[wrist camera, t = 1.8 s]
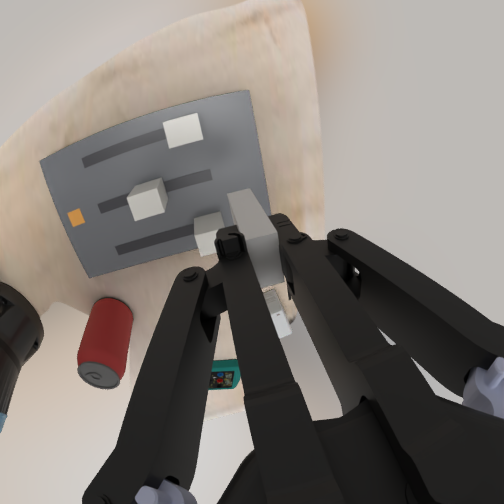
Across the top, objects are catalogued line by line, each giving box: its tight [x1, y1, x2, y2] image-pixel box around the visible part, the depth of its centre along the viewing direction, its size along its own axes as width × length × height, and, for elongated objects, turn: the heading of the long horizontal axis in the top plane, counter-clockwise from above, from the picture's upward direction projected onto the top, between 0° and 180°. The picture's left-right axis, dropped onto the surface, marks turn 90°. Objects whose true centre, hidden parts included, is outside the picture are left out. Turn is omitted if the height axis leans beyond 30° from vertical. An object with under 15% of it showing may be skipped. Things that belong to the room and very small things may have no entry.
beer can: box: [77, 298, 133, 389], centre depth 31 cm, size 7×7×12 cm
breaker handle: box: [127, 177, 168, 221], centre depth 25 cm, size 3×2×4 cm
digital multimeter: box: [208, 359, 241, 390], centre depth 45 cm, size 7×15×3 cm, turn 82°
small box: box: [263, 289, 292, 339], centre depth 39 cm, size 6×6×5 cm
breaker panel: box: [40, 90, 271, 278], centre depth 26 cm, size 24×16×7 cm, turn 100°
